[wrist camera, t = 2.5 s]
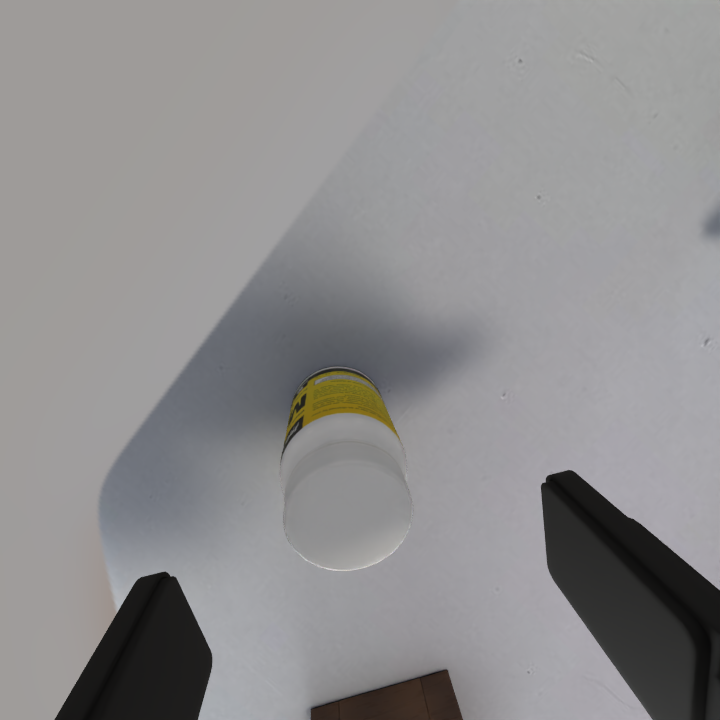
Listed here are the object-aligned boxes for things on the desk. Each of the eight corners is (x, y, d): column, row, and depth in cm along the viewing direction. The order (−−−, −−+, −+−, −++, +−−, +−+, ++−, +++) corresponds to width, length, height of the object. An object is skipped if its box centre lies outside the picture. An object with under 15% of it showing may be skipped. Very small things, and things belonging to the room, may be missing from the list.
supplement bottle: (291, 363, 18) (269, 447, 10) (384, 365, 18) (435, 446, 10) (291, 449, 19) (270, 586, 11) (378, 448, 20) (418, 579, 12)
